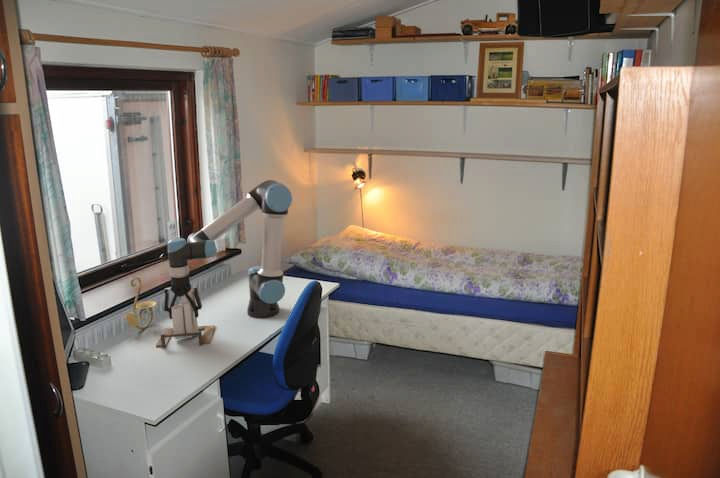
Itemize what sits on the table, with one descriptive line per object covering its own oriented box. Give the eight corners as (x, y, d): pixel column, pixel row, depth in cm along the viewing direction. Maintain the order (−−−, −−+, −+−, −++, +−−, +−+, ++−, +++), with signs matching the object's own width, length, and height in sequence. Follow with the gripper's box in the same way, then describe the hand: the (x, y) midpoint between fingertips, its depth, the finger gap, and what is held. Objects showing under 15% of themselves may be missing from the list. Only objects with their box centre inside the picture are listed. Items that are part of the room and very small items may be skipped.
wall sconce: (142, 335, 248) (135, 282, 242) (125, 333, 251) (117, 280, 245) (163, 323, 261) (157, 272, 254) (146, 321, 264) (140, 270, 257)
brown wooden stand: (215, 326, 256) (214, 314, 254) (209, 345, 237) (207, 332, 236) (165, 330, 254) (163, 317, 252) (155, 348, 235) (153, 335, 233)
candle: (188, 328, 251) (184, 285, 246) (201, 330, 249) (198, 287, 244) (172, 338, 241) (167, 294, 236) (186, 340, 238) (182, 296, 233)
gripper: (206, 271, 243) (210, 320, 248) (156, 273, 240) (162, 323, 246) (203, 276, 235) (208, 326, 241) (152, 279, 233) (158, 330, 239)
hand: (184, 324), depth 244 cm, fingers closed on candle, 8 cm apart
